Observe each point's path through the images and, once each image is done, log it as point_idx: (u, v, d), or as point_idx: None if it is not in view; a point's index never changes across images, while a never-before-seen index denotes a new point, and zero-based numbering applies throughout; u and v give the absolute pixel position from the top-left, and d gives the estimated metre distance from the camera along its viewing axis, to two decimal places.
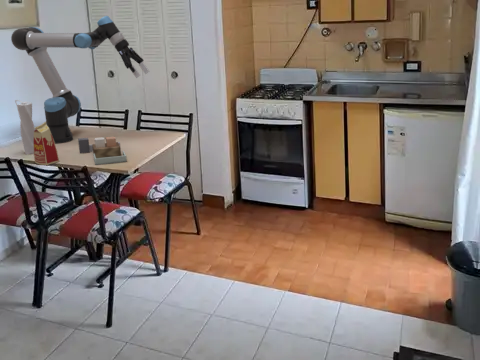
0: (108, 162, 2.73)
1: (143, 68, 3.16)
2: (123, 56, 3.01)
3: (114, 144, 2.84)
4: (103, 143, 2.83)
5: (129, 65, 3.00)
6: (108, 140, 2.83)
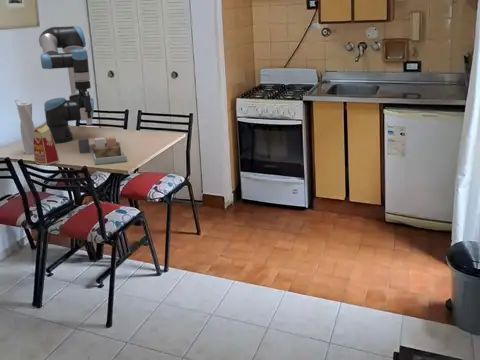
0: (108, 162, 2.73)
1: None
2: None
3: (114, 144, 2.84)
4: (103, 143, 2.83)
5: None
6: (108, 140, 2.83)
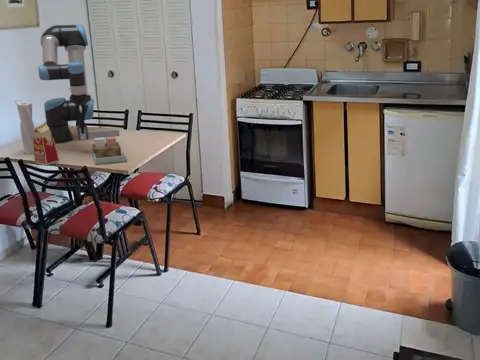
0: (108, 162, 2.73)
1: None
2: None
3: (114, 144, 2.84)
4: (103, 143, 2.83)
5: None
6: (108, 140, 2.83)
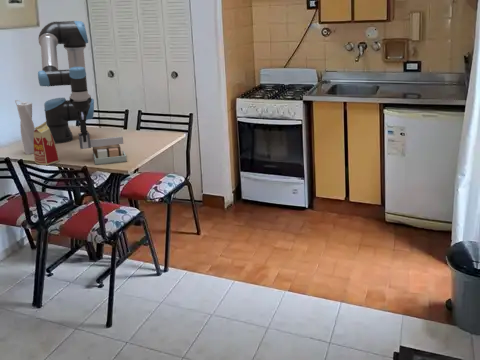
0: (108, 162, 2.73)
1: None
2: None
3: None
4: None
5: None
6: None
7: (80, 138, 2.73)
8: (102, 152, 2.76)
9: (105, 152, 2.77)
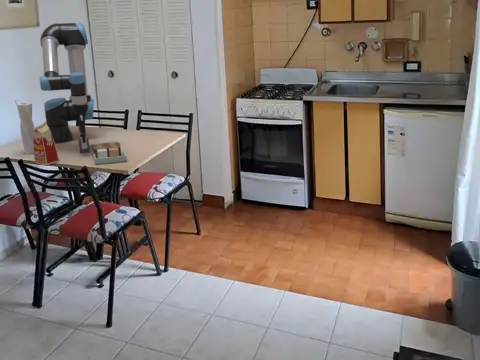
0: (108, 162, 2.73)
1: None
2: None
3: None
4: None
5: None
6: None
7: (79, 143, 2.90)
8: (102, 152, 2.76)
9: (105, 152, 2.77)
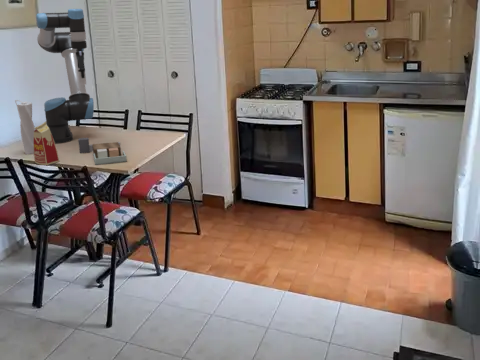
0: (108, 162, 2.73)
1: None
2: None
3: None
4: None
5: None
6: None
7: (79, 143, 2.90)
8: (102, 152, 2.76)
9: (105, 152, 2.77)
